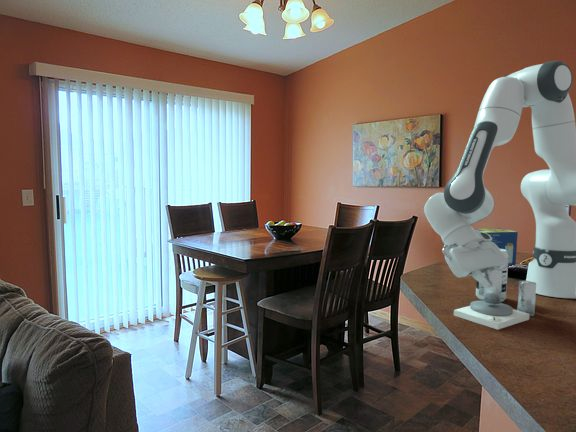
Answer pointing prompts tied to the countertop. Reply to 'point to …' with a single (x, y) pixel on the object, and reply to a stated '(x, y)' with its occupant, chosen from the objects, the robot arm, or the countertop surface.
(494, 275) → the glossy grey rounded cylinder
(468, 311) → the scale
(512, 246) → the protein box
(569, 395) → the countertop surface
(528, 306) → the cylinder
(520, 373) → the countertop surface
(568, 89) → the robot arm
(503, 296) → the supplement can
